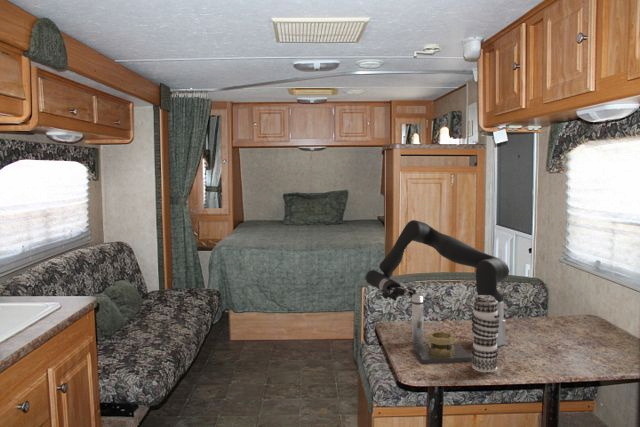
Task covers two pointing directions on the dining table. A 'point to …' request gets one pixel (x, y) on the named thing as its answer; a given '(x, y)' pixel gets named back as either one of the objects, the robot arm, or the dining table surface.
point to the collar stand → (441, 349)
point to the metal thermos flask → (417, 319)
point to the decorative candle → (485, 333)
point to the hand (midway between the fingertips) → (405, 297)
